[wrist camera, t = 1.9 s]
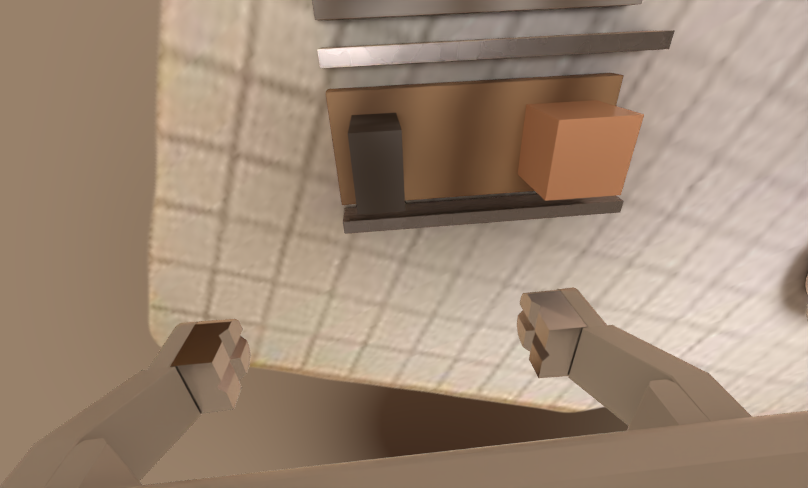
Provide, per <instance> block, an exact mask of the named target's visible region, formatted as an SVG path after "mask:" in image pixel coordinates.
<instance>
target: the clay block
mask: <svg viewBox="0 0 808 488" xmlns="http://www.w3.org/2000/svg"><path fill="white" fill-rule="evenodd" d="M643 117H644V114H641V113H637V112H634V111H631V110H627V109H624V108H621V107H618V106H614V105H611V104H608V103H604V102H601V101H598V100H591V101H575V102H559V103H542V104H526V111H525V119H524V127H523V135H522V143H521V151H520V158H519V166H518V175H519V176H520V177H521V178H522V179H523V180H524V181H525V182H526V183H527V184H528V185H529V186H530V187H531V188H533V189H534V190H535V191H536V192H537V193H538V194H539V195H540V196H541V197H542V198H543V199H544V200H545V201H548V200H562V199H575V198H589V197H602V196H615V195H621V192H622V189H623V185H624V182H625V178H626V175H627V171H628V168H629V165H630V161H631V158H632V154H633V151H634V147H635V144H636V141H637V137H638V134H639V130H640V127H641V123H642V120H643Z"/></svg>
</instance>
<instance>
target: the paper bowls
mask: <svg viewBox="0 0 808 488" xmlns="http://www.w3.org/2000/svg"><path fill="white" fill-rule="evenodd" d="M805 286H806V292H807V295H808V274H807V278H806V283H805ZM806 315H807V320H808V303H807V312H806Z"/></svg>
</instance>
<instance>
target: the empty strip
mask: <svg viewBox="0 0 808 488" xmlns="http://www.w3.org/2000/svg"><path fill="white" fill-rule="evenodd" d="M312 2H313V9H314V16H315V20H337V19H357V18H378V17H399V16H419V15H440V14H461V13H481V12H502V11H523V10H543V9H564V8H585V7H605V6H626V5H636V4H641V3H642V0H312Z"/></svg>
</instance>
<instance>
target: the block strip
mask: <svg viewBox="0 0 808 488" xmlns="http://www.w3.org/2000/svg"><path fill="white" fill-rule="evenodd" d="M622 79H623V75H619V74H614V73H602V74H584V75H567V76H550V77H532V78H515V79H498V80H480V81H463V82H446V83H428V84H411V85H394V86H376V87H359V88H342V89H328V90H327V91H326V98H327V105H328V112H329V119H330V126H331V133H332V140H333V147H334V153H335V160H336V167H337V174H338V181H339V188H340V195H341V202H342V205H349V204H356V206H357V214H358V215H361V214H375V213H388V212H401V211H405V200H417V199H431V198H445V197H458V196H472V195H485V194H499V193H513V192H526V191H535V190H534V189H533V188H531V187H530V186H529V185H528V184H527V183H526V182H525V181H524V180H523V179H522V178H521V177H520V176H519V175H518V166H519V158H520V151H521V143H522V135H523V127H524V119H525V111H526V104H542V103H559V102H575V101H591V100H598V101H601V102H604V103H608V104H611V105H614V106H616V103H617V99H618V95H619V91H620V87H621V83H622Z"/></svg>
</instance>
